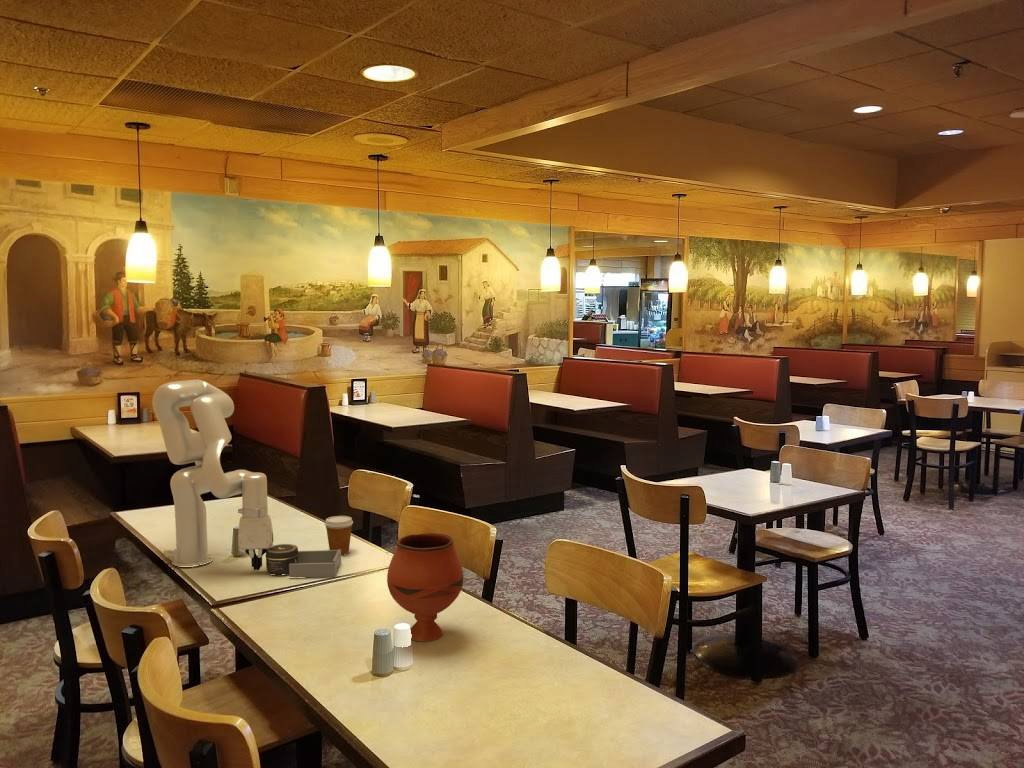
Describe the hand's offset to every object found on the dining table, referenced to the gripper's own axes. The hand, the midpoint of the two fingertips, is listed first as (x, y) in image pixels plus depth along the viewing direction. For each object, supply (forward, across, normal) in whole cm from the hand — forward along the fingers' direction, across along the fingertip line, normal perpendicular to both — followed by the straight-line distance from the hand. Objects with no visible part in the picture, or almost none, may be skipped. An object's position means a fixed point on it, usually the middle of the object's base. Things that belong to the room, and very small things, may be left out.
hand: (257, 568), depth 251 cm
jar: (+1, +8, 0) cm, 8 cm away
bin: (+1, +18, 0) cm, 18 cm away
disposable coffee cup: (+1, +23, +18) cm, 30 cm away
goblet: (+1, +55, -53) cm, 76 cm away
